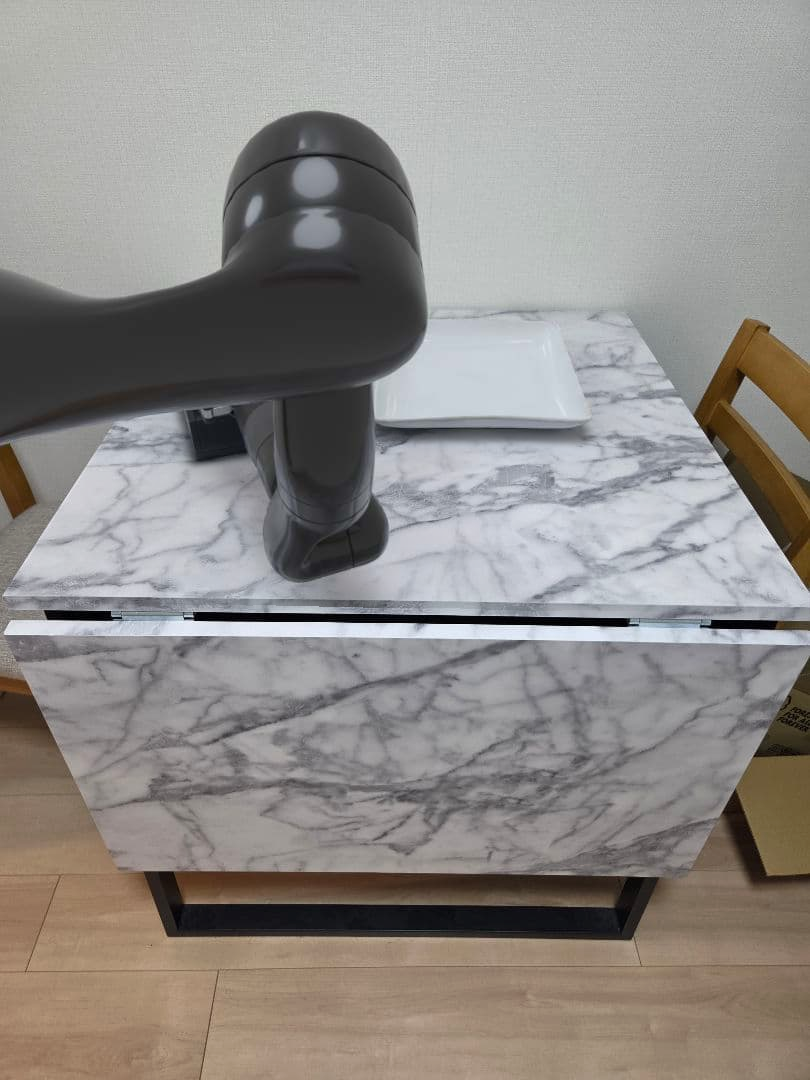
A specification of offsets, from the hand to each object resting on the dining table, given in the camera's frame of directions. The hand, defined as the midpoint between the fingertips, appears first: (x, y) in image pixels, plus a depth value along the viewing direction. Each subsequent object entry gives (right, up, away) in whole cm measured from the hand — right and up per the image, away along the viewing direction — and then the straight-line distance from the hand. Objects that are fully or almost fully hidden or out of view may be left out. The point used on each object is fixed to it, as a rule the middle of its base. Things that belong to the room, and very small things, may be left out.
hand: (248, 359), depth 86 cm
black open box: (-2, -4, +11) cm, 12 cm away
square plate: (+27, 0, +17) cm, 32 cm away
